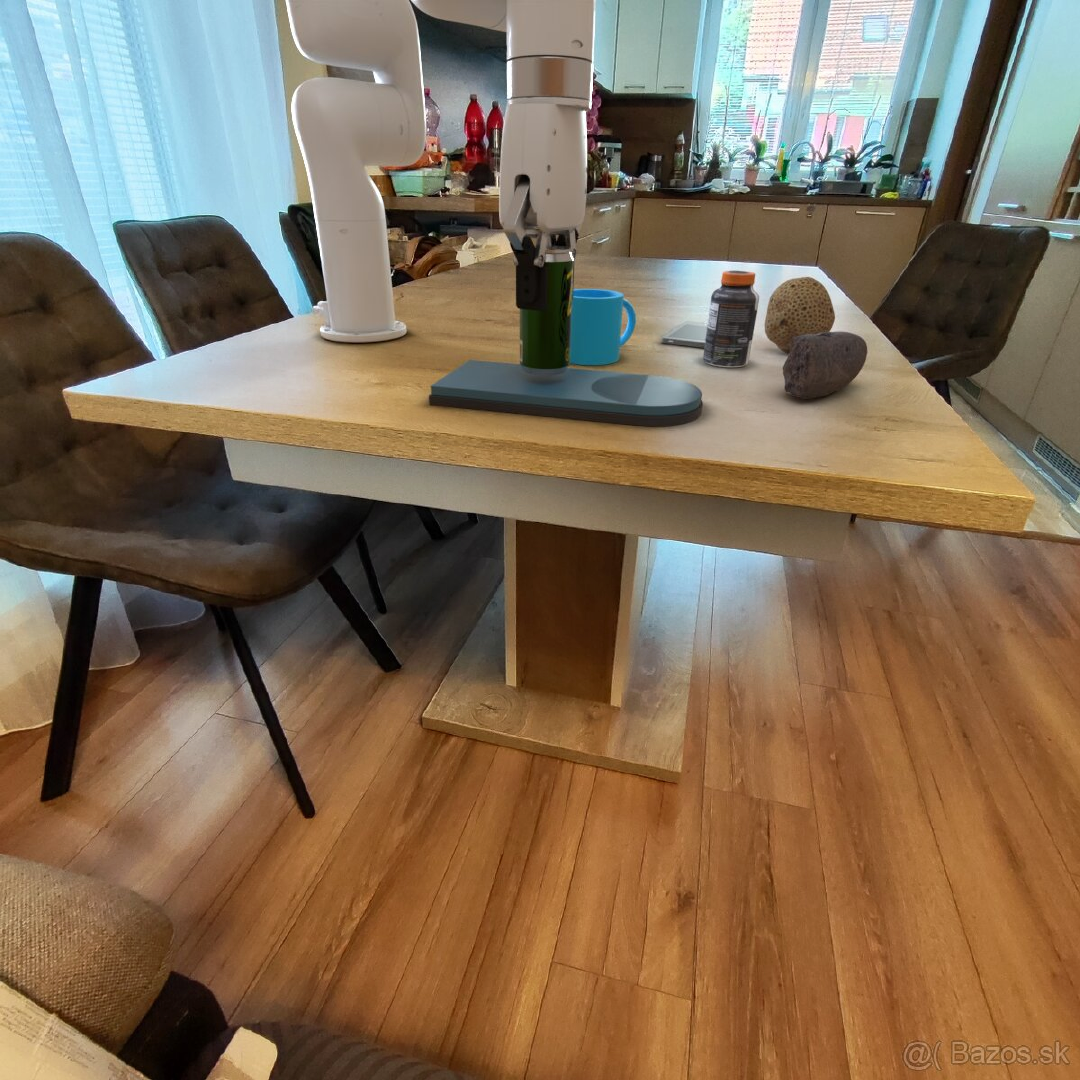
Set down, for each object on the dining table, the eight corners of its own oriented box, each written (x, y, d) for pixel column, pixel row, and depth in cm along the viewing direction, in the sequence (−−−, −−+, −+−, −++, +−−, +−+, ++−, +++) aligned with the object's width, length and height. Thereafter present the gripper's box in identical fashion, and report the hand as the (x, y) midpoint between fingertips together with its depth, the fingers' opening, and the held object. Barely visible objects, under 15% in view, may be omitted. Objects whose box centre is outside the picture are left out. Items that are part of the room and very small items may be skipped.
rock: (836, 377, 79) (850, 319, 76) (877, 387, 76) (894, 326, 72) (763, 397, 71) (775, 333, 68) (804, 409, 68) (820, 343, 64)
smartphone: (716, 349, 91) (716, 344, 91) (660, 342, 94) (661, 337, 94) (736, 330, 103) (737, 325, 102) (686, 325, 106) (687, 320, 105)
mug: (584, 368, 81) (587, 300, 77) (546, 355, 87) (547, 291, 83) (652, 356, 87) (658, 293, 83) (612, 344, 93) (617, 285, 89)
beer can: (525, 377, 66) (525, 250, 60) (515, 364, 70) (514, 245, 64) (575, 375, 67) (580, 250, 61) (562, 362, 71) (566, 245, 65)
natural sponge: (833, 351, 91) (851, 277, 86) (814, 363, 85) (833, 284, 80) (771, 342, 96) (784, 271, 91) (749, 353, 90) (762, 277, 85)
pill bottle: (756, 363, 85) (772, 271, 79) (734, 371, 81) (750, 275, 76) (716, 355, 88) (729, 267, 83) (693, 362, 85) (706, 270, 79)
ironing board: (429, 404, 67) (427, 385, 66) (469, 375, 77) (468, 358, 76) (698, 432, 61) (701, 411, 60) (703, 396, 71) (706, 378, 70)
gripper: (553, 100, 64) (549, 290, 73) (460, 78, 51) (469, 314, 60) (623, 98, 61) (610, 296, 70) (543, 74, 48) (540, 322, 57)
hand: (545, 302), depth 65 cm, fingers closed on beer can, 5 cm apart
